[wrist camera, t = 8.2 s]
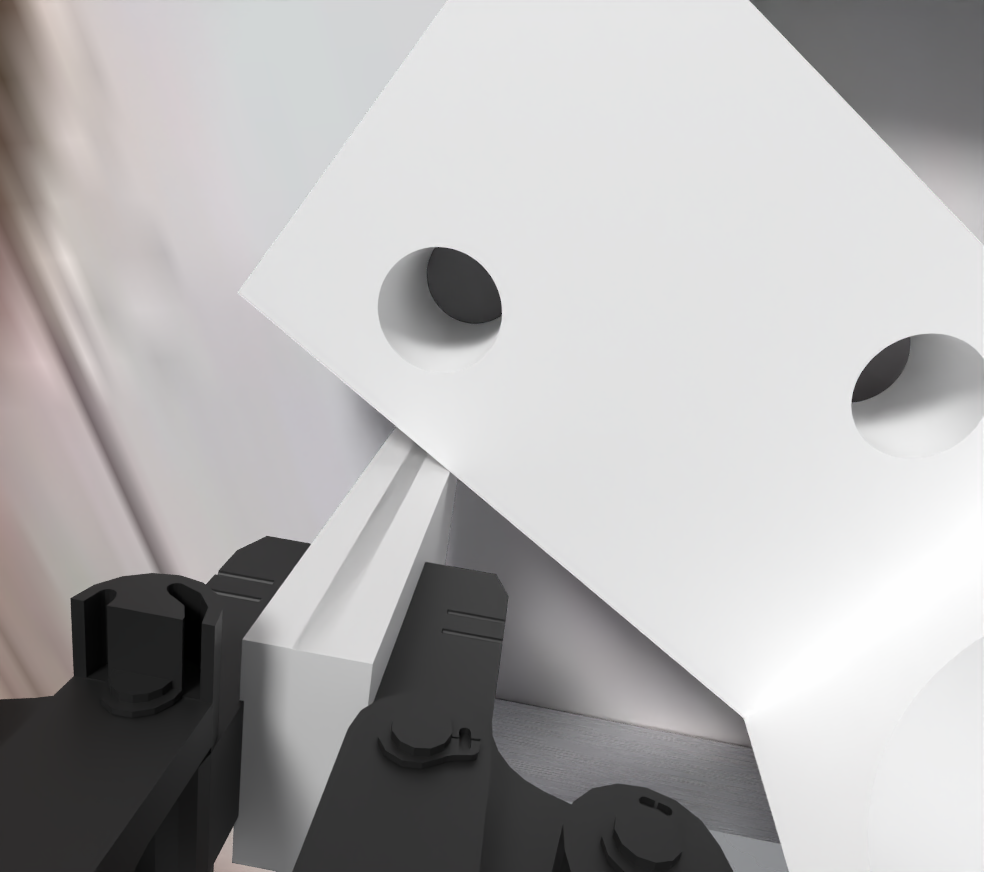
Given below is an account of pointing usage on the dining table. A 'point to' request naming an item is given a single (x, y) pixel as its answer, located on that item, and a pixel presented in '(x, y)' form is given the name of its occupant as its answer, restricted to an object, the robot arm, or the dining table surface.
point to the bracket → (690, 377)
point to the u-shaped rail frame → (646, 773)
